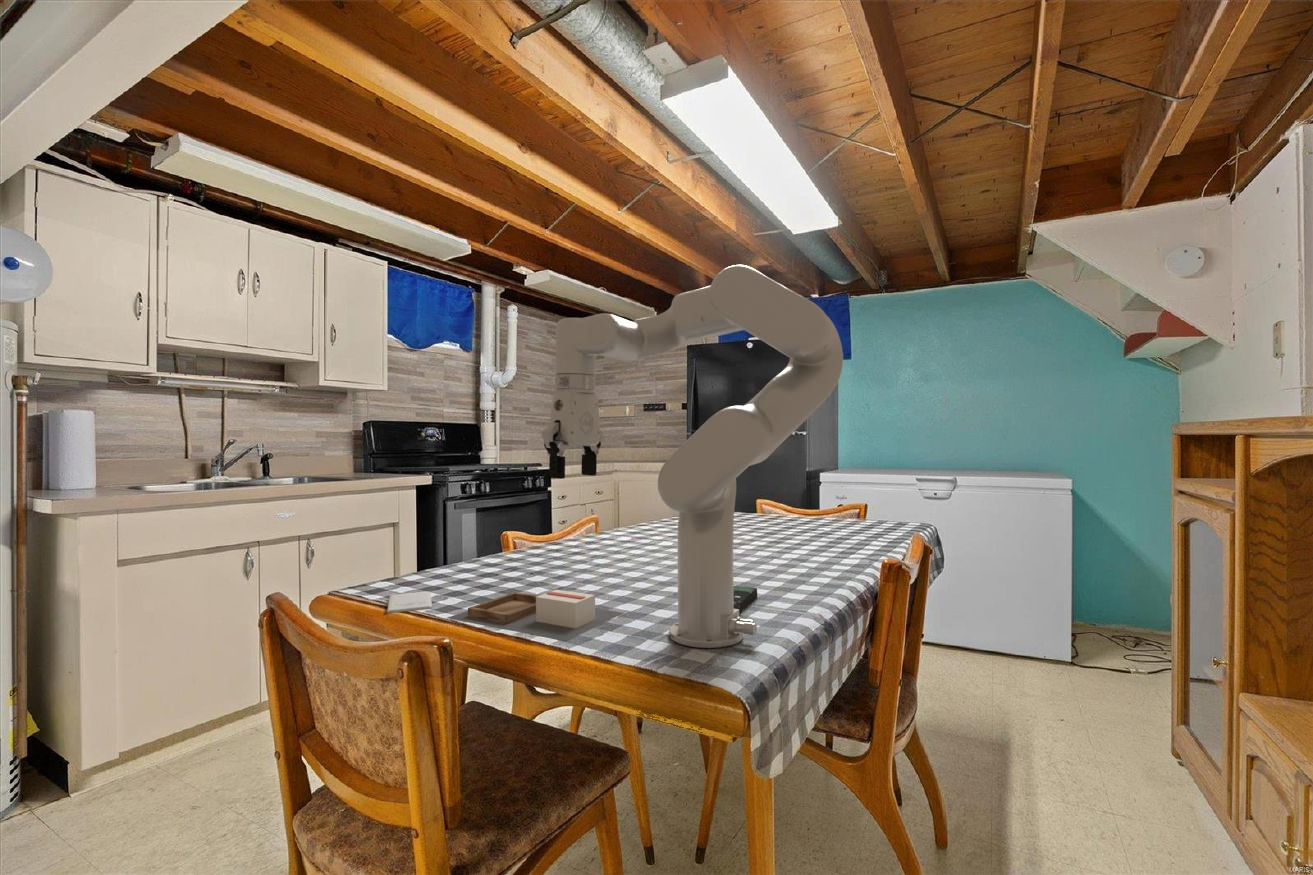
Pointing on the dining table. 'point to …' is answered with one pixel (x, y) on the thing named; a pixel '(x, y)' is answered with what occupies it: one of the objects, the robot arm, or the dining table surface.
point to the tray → (505, 608)
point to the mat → (542, 625)
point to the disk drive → (743, 597)
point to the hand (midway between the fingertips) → (573, 476)
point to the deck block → (565, 608)
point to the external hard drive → (409, 602)
